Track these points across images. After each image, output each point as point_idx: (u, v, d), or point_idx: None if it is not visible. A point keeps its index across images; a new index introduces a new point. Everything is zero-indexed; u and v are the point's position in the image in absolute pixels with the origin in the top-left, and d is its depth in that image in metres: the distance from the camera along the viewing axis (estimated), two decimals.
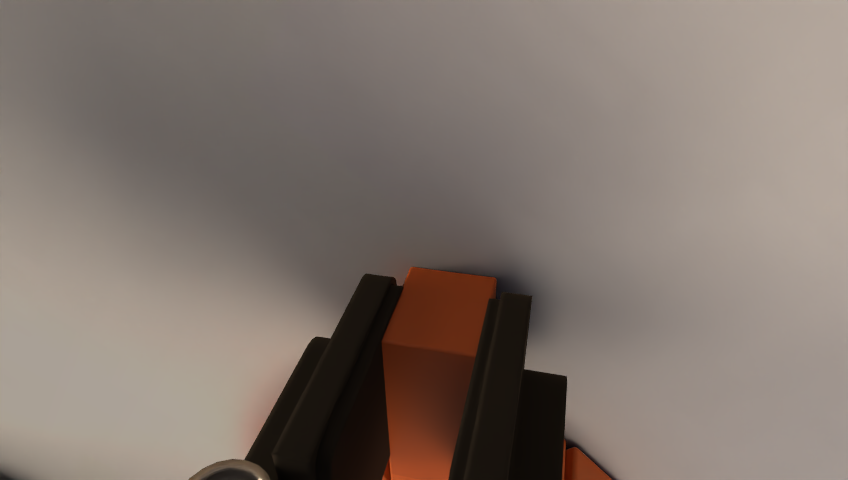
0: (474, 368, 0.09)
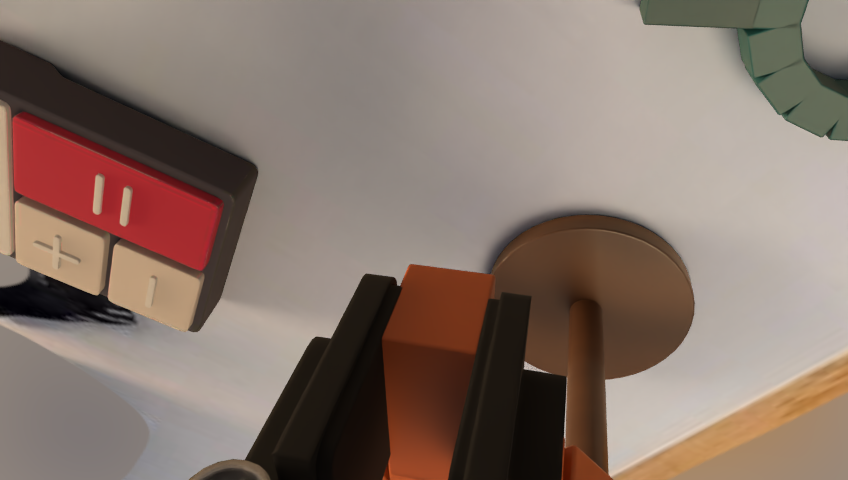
0: (474, 368, 0.09)
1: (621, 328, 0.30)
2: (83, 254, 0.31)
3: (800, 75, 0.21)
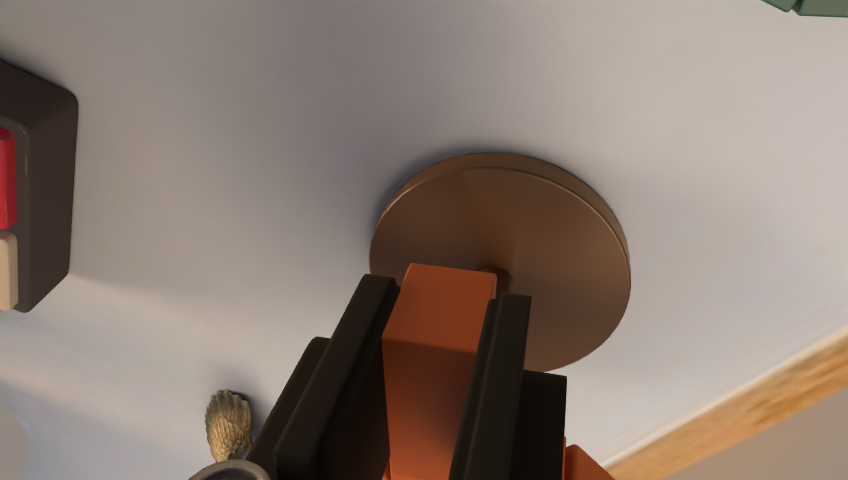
0: (474, 368, 0.09)
1: (540, 306, 0.23)
2: None
3: None
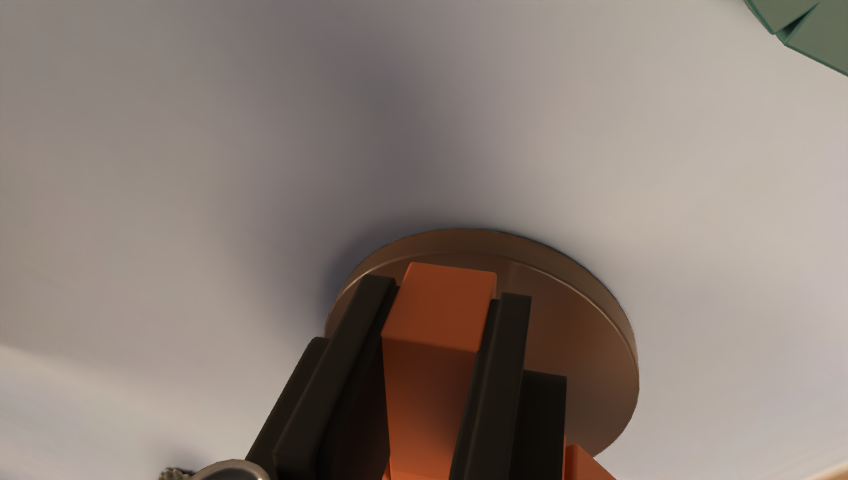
0: (474, 368, 0.09)
1: None
2: None
3: None
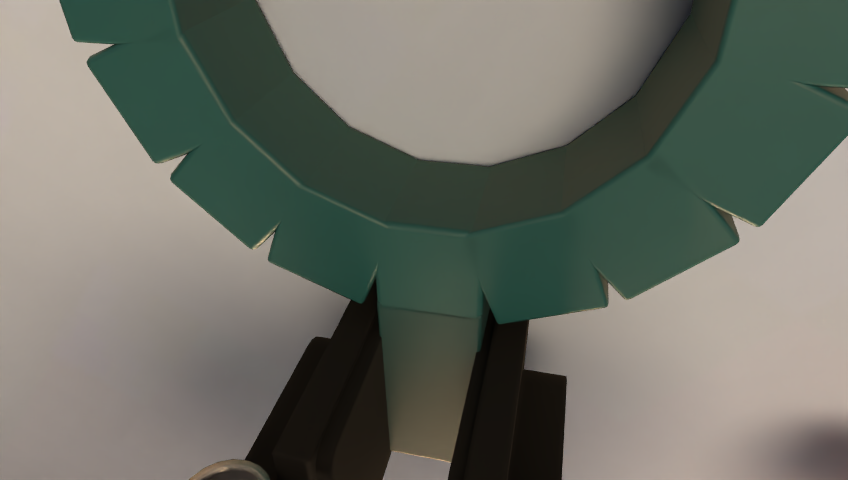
0: (474, 368, 0.09)
1: None
2: None
3: (610, 214, 0.07)
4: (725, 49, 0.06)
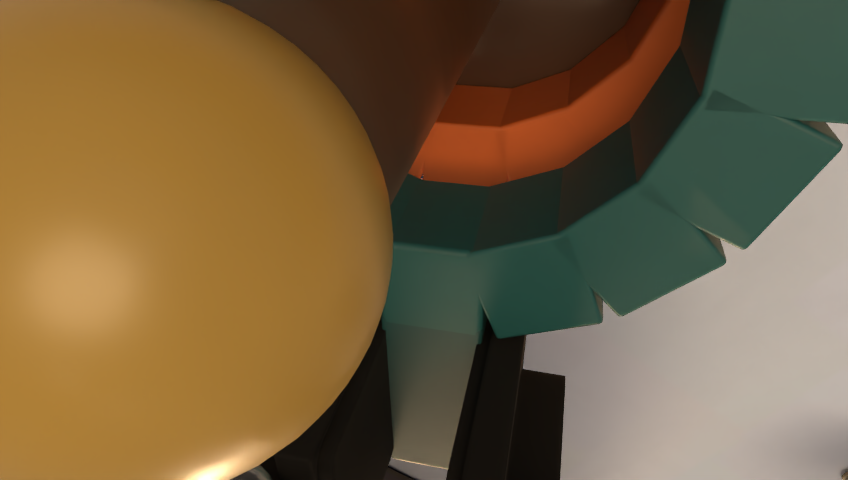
0: (472, 368, 0.09)
1: None
2: None
3: (605, 236, 0.08)
4: (710, 86, 0.06)
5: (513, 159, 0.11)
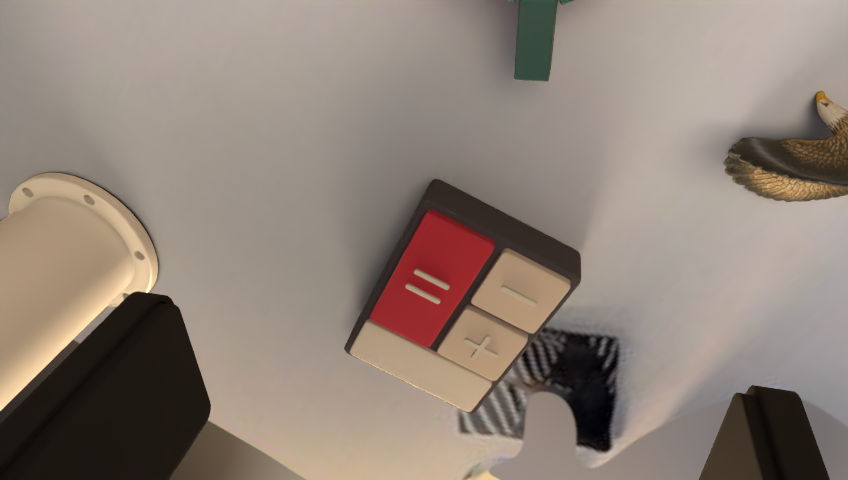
0: None
1: None
2: (482, 330, 0.40)
3: None
4: None
5: None
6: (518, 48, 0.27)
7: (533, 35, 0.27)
